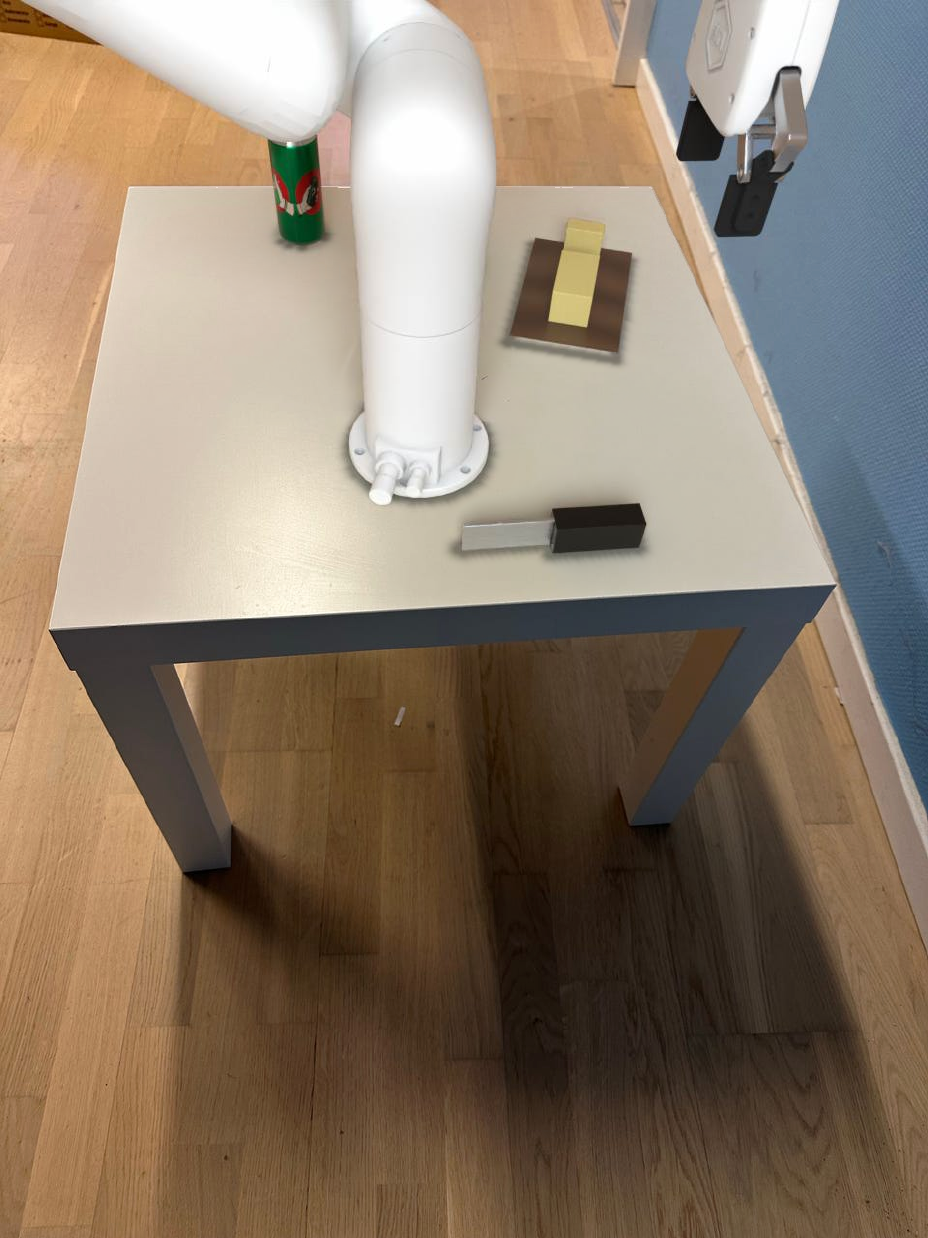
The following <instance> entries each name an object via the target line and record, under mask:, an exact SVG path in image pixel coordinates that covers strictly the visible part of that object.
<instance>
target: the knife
mask: <svg viewBox="0 0 928 1238" xmlns="http://www.w3.org/2000/svg"><path fill="white" fill-rule="evenodd" d="M646 527H647V522H646V518H645V515H644V511H643V509H642V506H641V503H640V502H636V503H634V502H633V503H620V504H619V503H617V504H603V505H602V504H601V505H600V504H599V505H587V506H585V505H583V506H571V507H568V506H567V507H555V508H551V513H550V517H542V518H541V517H540V518H526V519H524V518H523V519H507V520H495V521H493V520H491V521H478V522H464V523H462V537H461V551H474V550H488V549H490V550H491V549H504V548H519V547H520V548H521V547H534V546H550V549H551V553H552V554H553V555H554V554H566V553H580V552H583V553H584V552H595V551H611V550H612V551H613V550H623V549H624V550H627V549H640V546H641V543H642V540H643V537H644V534H645V530H646Z"/></svg>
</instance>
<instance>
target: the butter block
mask: <svg viewBox="0 0 928 1238" xmlns="http://www.w3.org/2000/svg"><path fill="white" fill-rule="evenodd" d="M599 260H600V255H593V254H587V253H580V252H574V251H567V250H562V252H561V257H560V261H559V266H558V270H557V275H556V279H555V283H554V288H553V293H552V299H551V306H550V313H549V319H548V321H550V322H557V323H563V324H569V325H575V326H581V327H587V324H588V319H589V314H590V309H591V304H592V299H593V293H594V287H595V282H596V276H597V271H598V265H599Z"/></svg>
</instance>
